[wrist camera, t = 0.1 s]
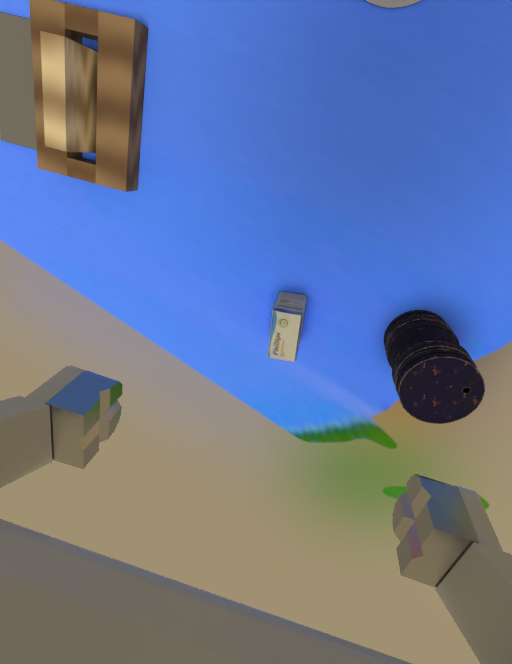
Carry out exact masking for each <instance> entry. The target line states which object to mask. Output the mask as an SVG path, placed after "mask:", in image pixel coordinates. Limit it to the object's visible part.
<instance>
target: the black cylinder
mask: <svg viewBox="0 0 512 664" xmlns="http://www.w3.org/2000/svg"><path fill="white" fill-rule="evenodd" d="M384 344H385V350H386V355H387V360H388V363H389V365H390V366H391V368H392V377H393V381H394V384H395V388H396V391H397V393H398V396H399V399H400V402H401V404H402V406H403V408H404V409H405V410H406V411H407V412H408V413H409V414H410V415H411V416H413V417H415V418H416V419H419V420H421V421H424V422H428V423H437V424H442V423H450V422H454V421H457V420H460V419H462V418H464V417H466V416H468V415H469V414H471V413H472V412H473V411H474V410H475V409H476V408H477V407H478V406H479V404H480V403H481V401H482V399H483V396H484V392H485V384H484V379H483V377H482V375H481V374H480V372H479V371H478V369H477V367H476V365H475V363H474V362H473V360H472V359H471V357H470V356H469V354H468V353H467V351H466V350H465V349H464V348H463V347H461V346H460V345H459V341H458V339H457V337H456V335H455V334H454V333H453V331H452V330H451V329H450V327H449V326H448V325H447V324H446V323H445V321H444V320H443V319H442V318H441V317H440V316H438V315H437V314H435V313H432V312H429V311H424V310H414V311H409V312H406V313H404V314H401V315H400V316H398V317H396V318H395V319H394V320H393V321H392V322H391V323H390V324H389V326H388V327H387V329H386V332H385V335H384Z"/></svg>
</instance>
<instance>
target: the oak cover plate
mask: <svg viewBox="0 0 512 664" xmlns="http://www.w3.org/2000/svg"><path fill="white" fill-rule="evenodd" d="M40 38H41V63H42V87H43V112H44V136H45V146H47V147H51V148H54V149H58V150H62V151H66V152H91V153H96V126H97V68H98V52H97V51H95V50H92V49H90V48H88V47H86V46H84V45H82V44H79V43H77V42H75V41H73V40H71V39H69V38H66V37H64V36H60V35H56V34H51V33H47V32H43V31H40Z"/></svg>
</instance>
